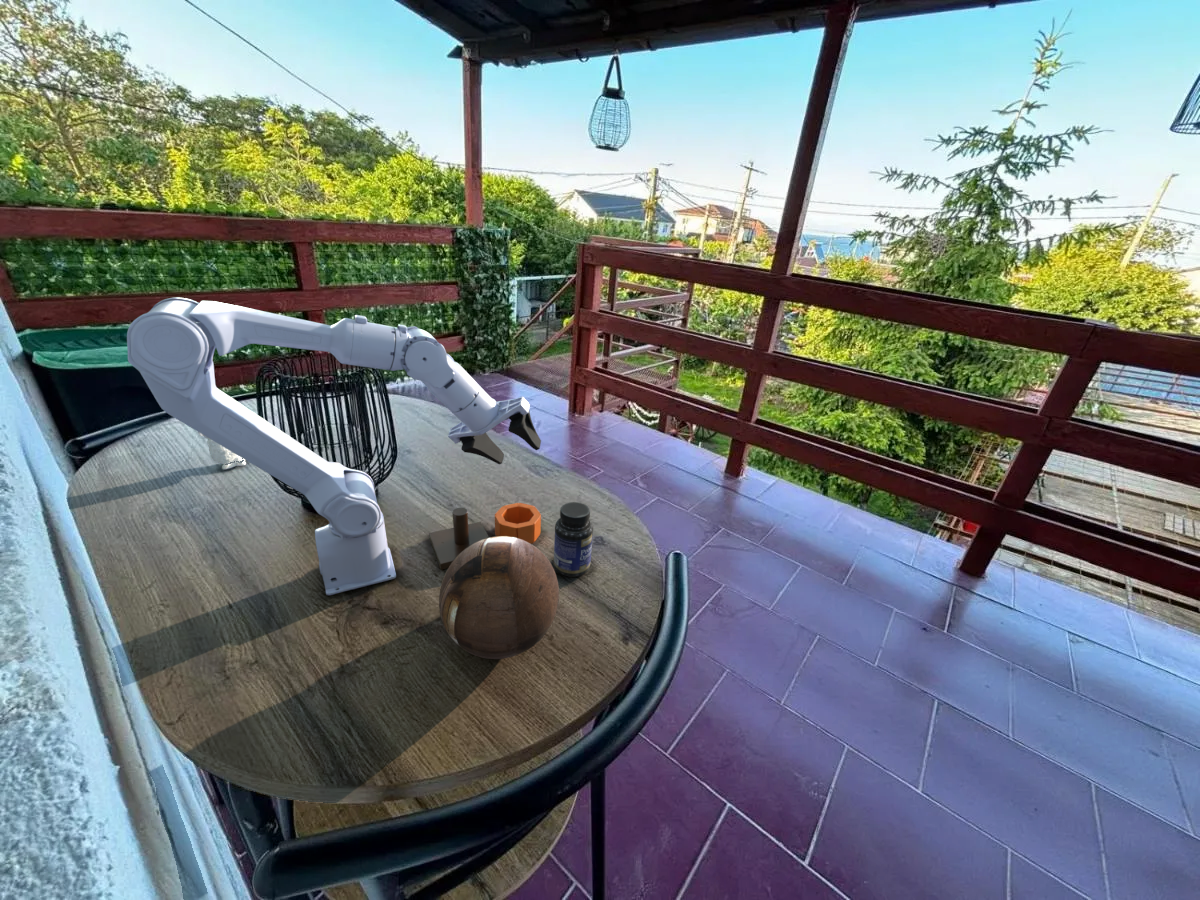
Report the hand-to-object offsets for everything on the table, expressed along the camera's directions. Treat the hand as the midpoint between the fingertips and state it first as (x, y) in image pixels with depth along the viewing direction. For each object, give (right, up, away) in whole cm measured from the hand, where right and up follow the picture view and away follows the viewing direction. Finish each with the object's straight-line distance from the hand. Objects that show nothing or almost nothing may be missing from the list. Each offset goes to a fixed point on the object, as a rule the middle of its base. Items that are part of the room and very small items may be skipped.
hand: (519, 452), depth 79 cm
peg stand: (-10, -16, +2) cm, 19 cm away
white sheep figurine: (-64, -3, +21) cm, 67 cm away
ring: (-1, -15, +7) cm, 16 cm away
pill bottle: (+9, -19, 0) cm, 21 cm away
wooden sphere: (0, -25, -15) cm, 29 cm away
